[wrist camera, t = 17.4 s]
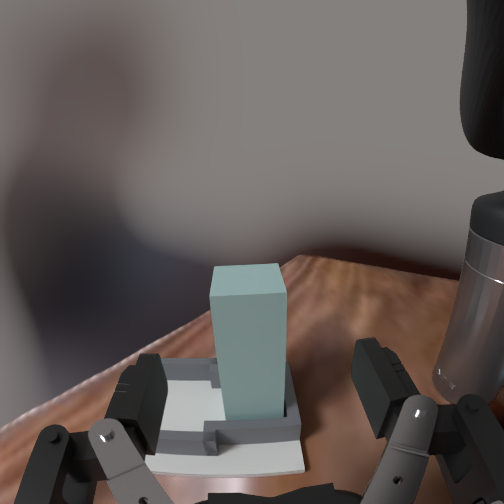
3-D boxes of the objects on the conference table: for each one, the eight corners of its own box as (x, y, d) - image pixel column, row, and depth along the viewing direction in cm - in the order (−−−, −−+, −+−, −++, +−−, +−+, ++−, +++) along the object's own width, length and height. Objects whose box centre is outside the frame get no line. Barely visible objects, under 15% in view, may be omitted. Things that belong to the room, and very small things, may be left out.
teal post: (277, 390, 30) (277, 263, 25) (282, 427, 25) (287, 292, 20) (227, 393, 30) (214, 266, 25) (227, 430, 25) (209, 296, 20)
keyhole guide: (284, 363, 35) (284, 343, 34) (304, 472, 21) (307, 454, 20) (164, 366, 34) (159, 347, 33) (137, 472, 20) (126, 454, 19)
